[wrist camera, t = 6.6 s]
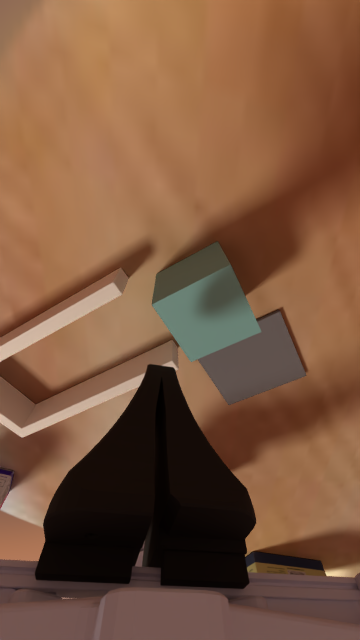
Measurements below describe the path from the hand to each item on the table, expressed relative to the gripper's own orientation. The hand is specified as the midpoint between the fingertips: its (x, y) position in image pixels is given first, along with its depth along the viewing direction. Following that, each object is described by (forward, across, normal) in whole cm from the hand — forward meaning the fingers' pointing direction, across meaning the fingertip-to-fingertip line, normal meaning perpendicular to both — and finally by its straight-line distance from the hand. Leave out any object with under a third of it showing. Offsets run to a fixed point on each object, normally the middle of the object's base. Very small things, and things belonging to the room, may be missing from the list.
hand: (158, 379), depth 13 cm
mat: (+8, -9, +4) cm, 13 cm away
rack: (+8, +7, +6) cm, 12 cm away
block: (+9, -2, -2) cm, 9 cm away
